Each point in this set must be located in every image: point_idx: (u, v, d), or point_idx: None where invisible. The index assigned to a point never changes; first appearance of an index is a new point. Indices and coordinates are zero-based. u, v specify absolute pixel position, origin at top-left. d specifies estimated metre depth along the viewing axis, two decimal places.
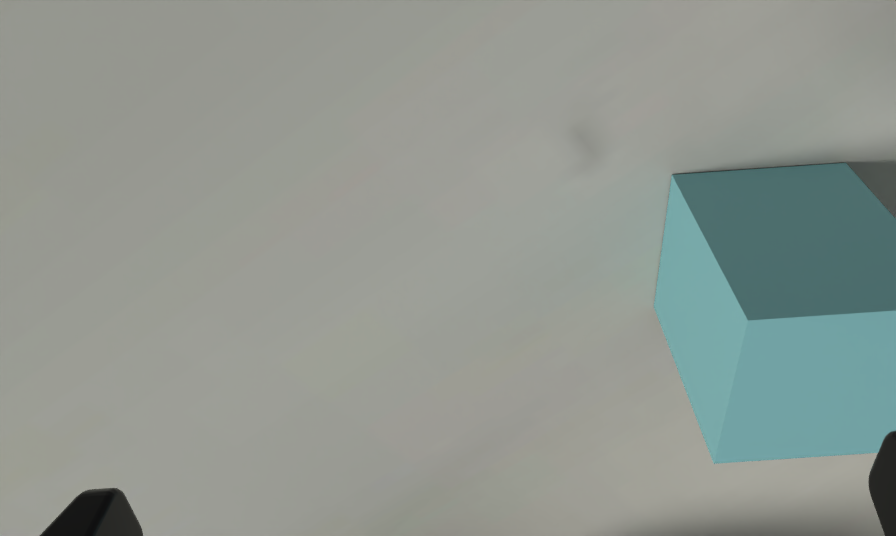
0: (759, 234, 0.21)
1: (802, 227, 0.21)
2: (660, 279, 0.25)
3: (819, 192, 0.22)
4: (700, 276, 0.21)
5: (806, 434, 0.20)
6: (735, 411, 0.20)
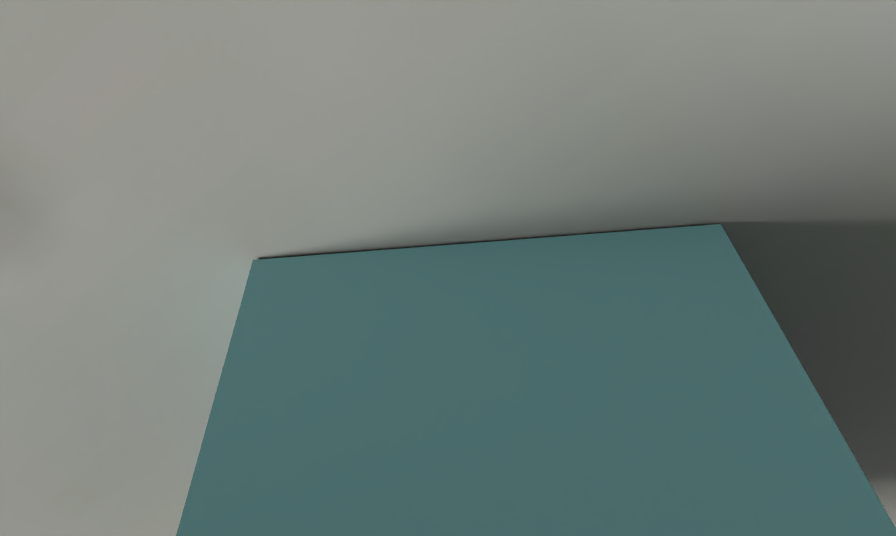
0: (369, 498, 0.06)
1: (522, 468, 0.06)
2: None
3: (622, 322, 0.07)
4: None
5: None
6: None
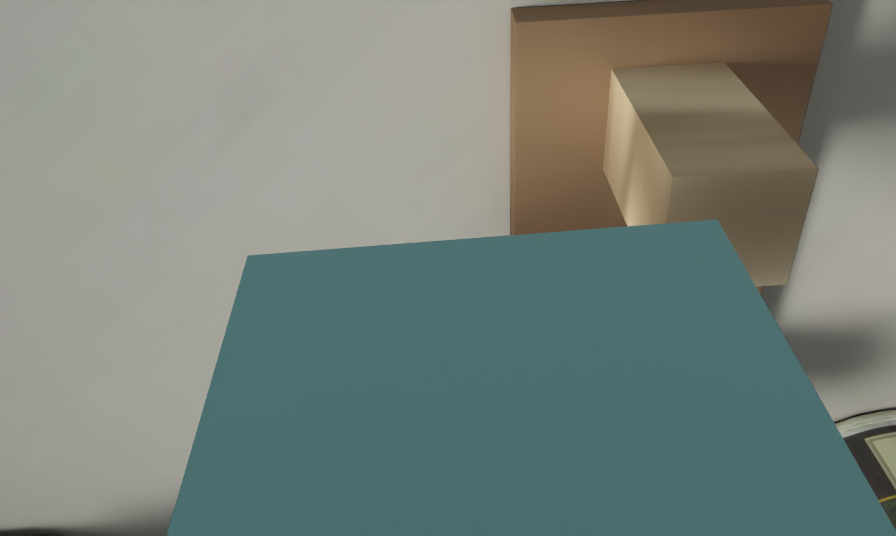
0: (362, 493, 0.06)
1: (517, 463, 0.06)
2: None
3: (617, 317, 0.07)
4: None
5: None
6: None
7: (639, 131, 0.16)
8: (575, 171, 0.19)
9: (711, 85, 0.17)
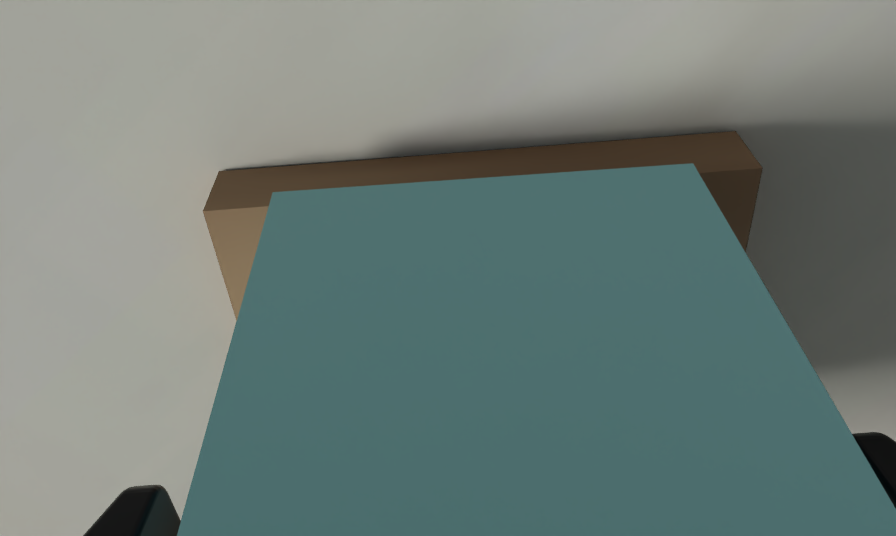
0: (380, 373, 0.07)
1: (512, 351, 0.07)
2: None
3: (602, 240, 0.08)
4: None
5: None
6: None
7: None
8: None
9: None
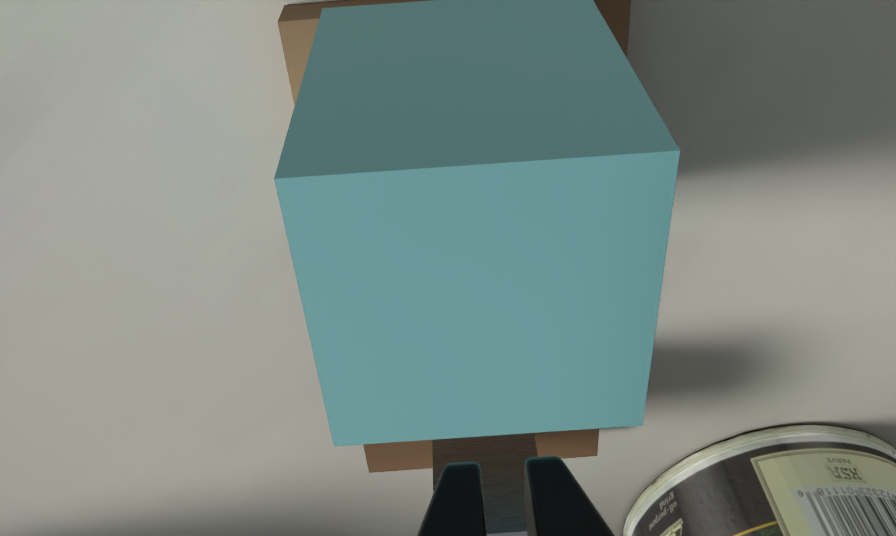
0: (392, 69, 0.13)
1: (466, 59, 0.13)
2: None
3: (523, 20, 0.14)
4: None
5: (467, 396, 0.12)
6: (329, 355, 0.12)
7: None
8: None
9: None
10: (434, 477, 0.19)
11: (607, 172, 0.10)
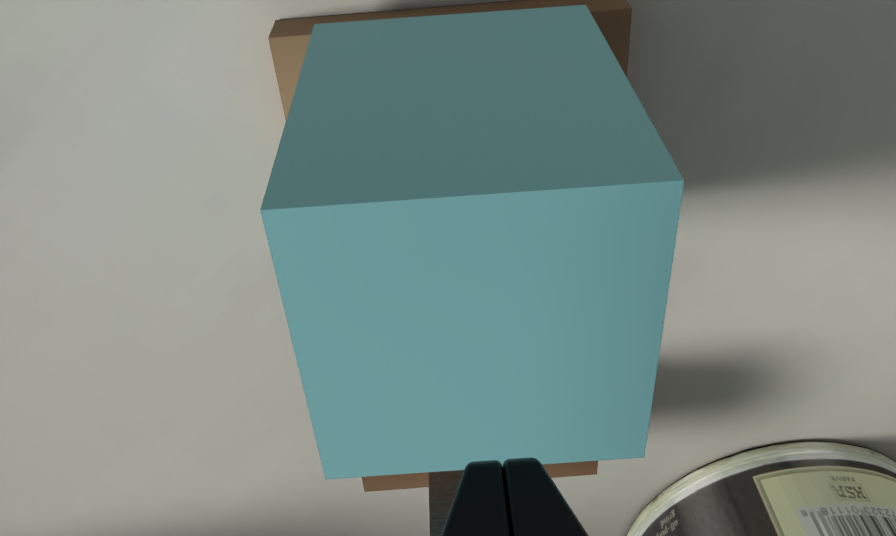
0: (385, 90, 0.12)
1: (461, 80, 0.12)
2: None
3: (521, 37, 0.14)
4: None
5: (463, 429, 0.12)
6: (319, 388, 0.11)
7: None
8: None
9: None
10: (430, 501, 0.18)
11: (608, 202, 0.10)
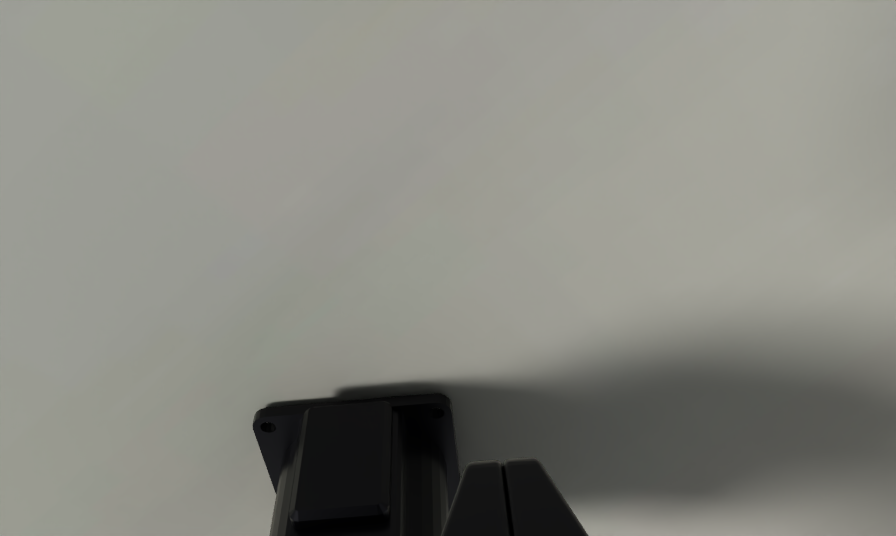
0: None
1: None
2: None
3: None
4: None
5: None
6: None
7: None
8: None
9: None
10: None
11: None
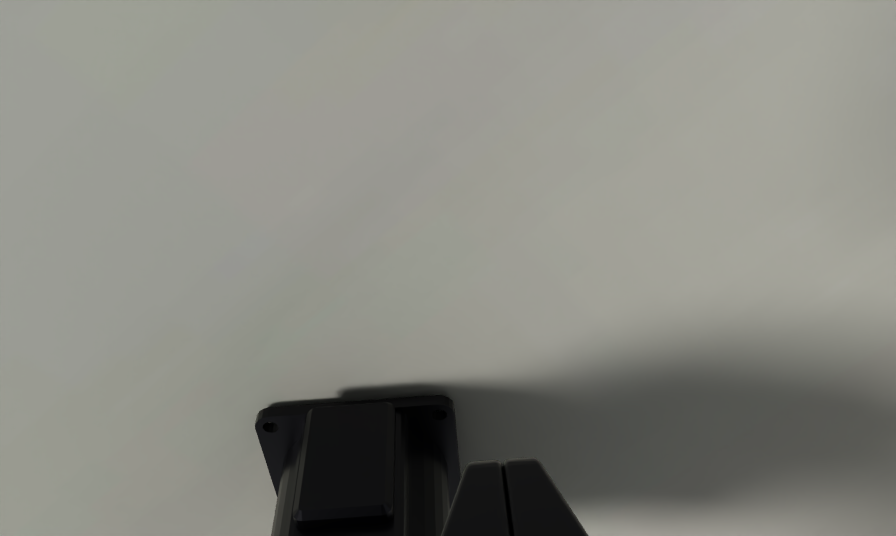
0: None
1: None
2: None
3: None
4: None
5: None
6: None
7: None
8: None
9: None
10: None
11: None
